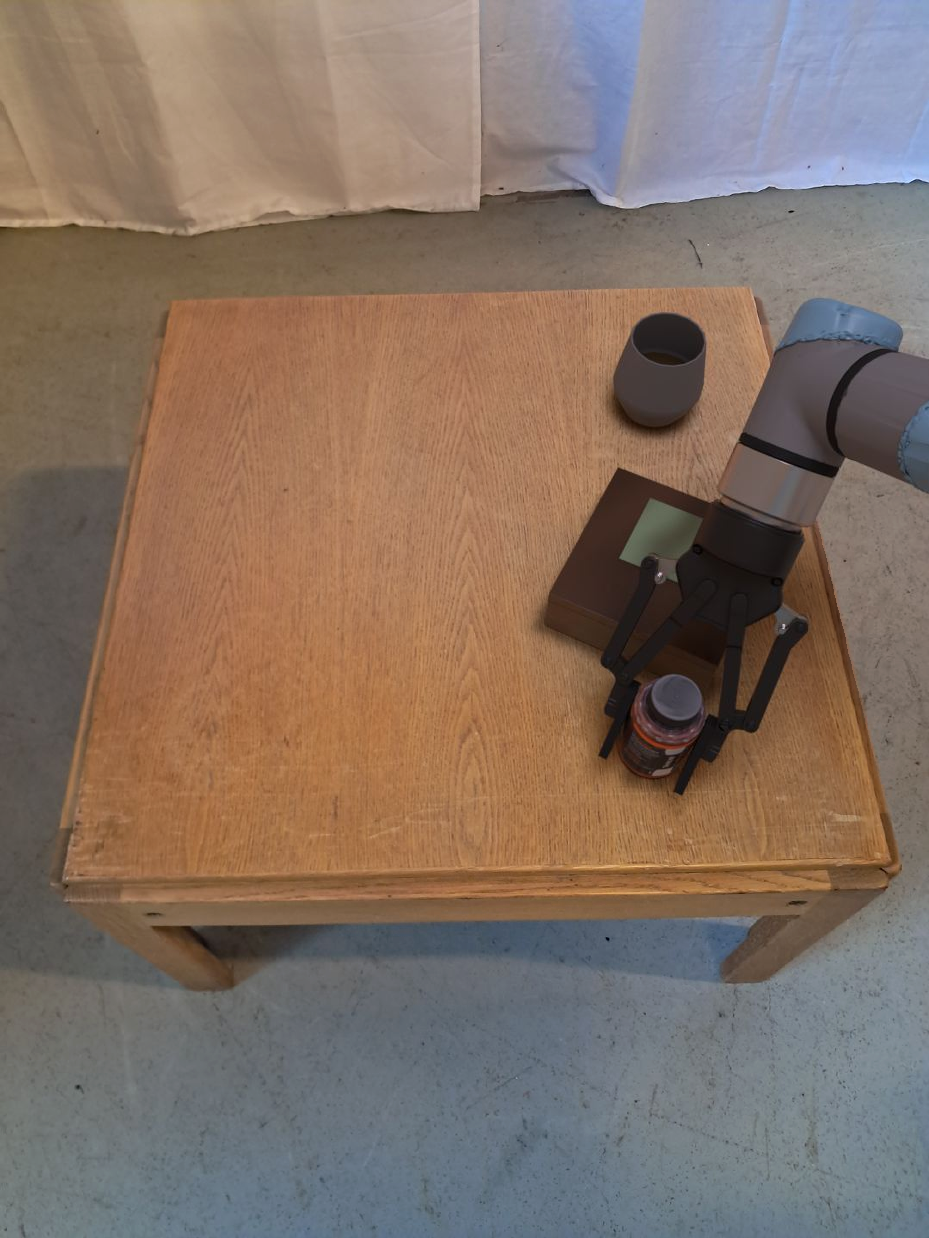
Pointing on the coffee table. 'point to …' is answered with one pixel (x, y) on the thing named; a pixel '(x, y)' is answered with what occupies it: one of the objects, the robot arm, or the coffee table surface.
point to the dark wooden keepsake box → (635, 576)
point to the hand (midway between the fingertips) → (642, 769)
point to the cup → (661, 369)
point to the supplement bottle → (662, 726)
